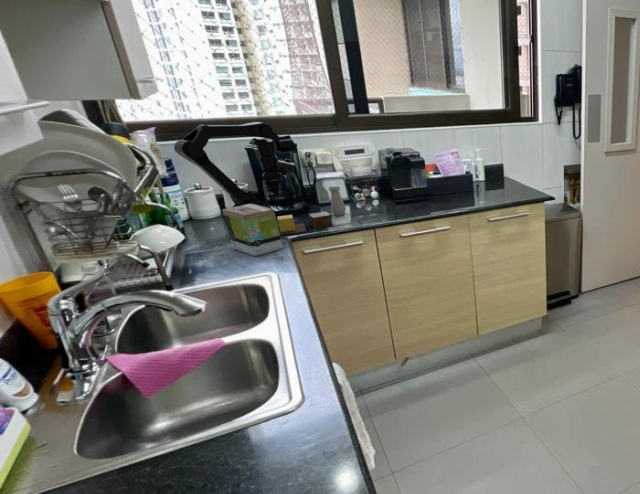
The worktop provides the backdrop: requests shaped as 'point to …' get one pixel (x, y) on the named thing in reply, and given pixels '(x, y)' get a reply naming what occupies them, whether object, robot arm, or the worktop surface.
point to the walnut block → (320, 219)
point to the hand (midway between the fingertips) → (277, 193)
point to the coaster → (299, 229)
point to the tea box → (253, 229)
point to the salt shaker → (336, 201)
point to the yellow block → (286, 223)
